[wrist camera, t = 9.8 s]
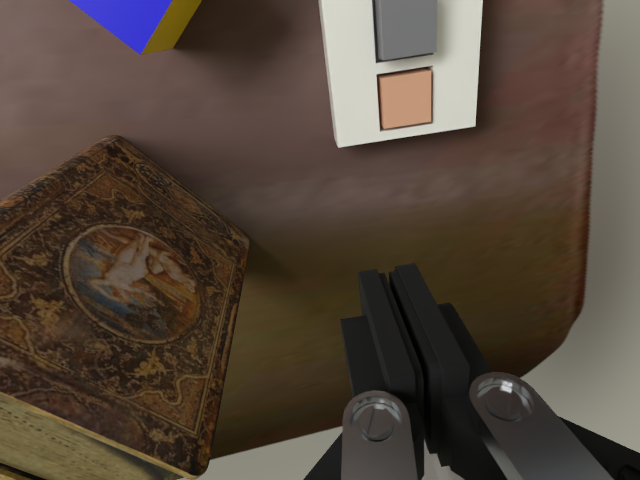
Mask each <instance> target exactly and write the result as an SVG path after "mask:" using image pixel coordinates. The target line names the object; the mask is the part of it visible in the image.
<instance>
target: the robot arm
mask: <svg viewBox="0 0 640 480" xmlns="http://www.w3.org/2000/svg"><path fill="white" fill-rule="evenodd" d="M358 279H359V288H360V298H361V307H362V316H360V317H353V318H347V319H341V328H342V335H343V342H344V348H345V354H346V361H347V367H348V372H349V378H350V384H351V390H352V395H353V399H352V400H351V401H350V402H349V403H348V405H347V407H346V408H345V411H344V416H343V432H342V433H341V434H340V436H339V437H338V438H337V439H336V440H335V442H334V443H333V444H332V445H331V447H330V448H329V449H328V450H327V452H326V453H325V454H324V455H323V456H322V458H321V459H320V460H319V461H318V462H317V464H316V465H315V466H314V467H313V469H312V470H311V471H310V472H309V474H308V475H307V476H306V477H305V478H304V480H640V453H638V452H636V451H634V450H631V449H629V448H627V447H625V446H622V445H620V444H618V443H616V442H614V441H612V440H609V439H607V438H605V437H603V436H601V435H598V434H596V433H594V432H592V431H589V430H587V429H585V428H583V427H581V426H579V425H576V424H574V423H572V422H570V421H567V420H565V419H563V418H561V417H559V416H557V415H556V414H555V412H554V411H553V410H552V409H551V408H550V407H549V406H548V405H547V404H546V402H545V401H544V400H543V399H542V398H541V397H540V395H539V394H538V393H537V392H536V391H535V390H534V389H533V388H532V387H531V386H530V385H529V384H528V383H526V382H525V381H523V380H521V379H520V378H518V377H516V376H513V375H510V374H507V373H500V372H492V371H491V369H490V368H489V366H488V364H487V363H486V361H485V359H484V358H483V356H482V354H481V352H480V351H479V349H478V347H477V346H476V344H475V342H474V341H473V339H472V337H471V335H470V334H469V332H468V330H467V329H466V327H465V325H464V324H463V322H462V320H461V318H460V317H459V315H458V313H457V312H456V310H455V308H454V307H453V305H452V304H450V303H444V304H438V305H437V304H436V302H435V300H434V298H433V296H432V294H431V293H430V291H429V289H428V287H427V285H426V283H425V281H424V279H423V278H422V276H421V274H420V272H419V270H418V268H417V266H416V265H415V264H414V263H413V264H406V265H400V266H396V267H395V271H393V272H389V281H390V286H389V283H388V280H387V278H386V275H385V273H380V274H378V271H377V269H374V270H367V271H361V272H358Z"/></svg>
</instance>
